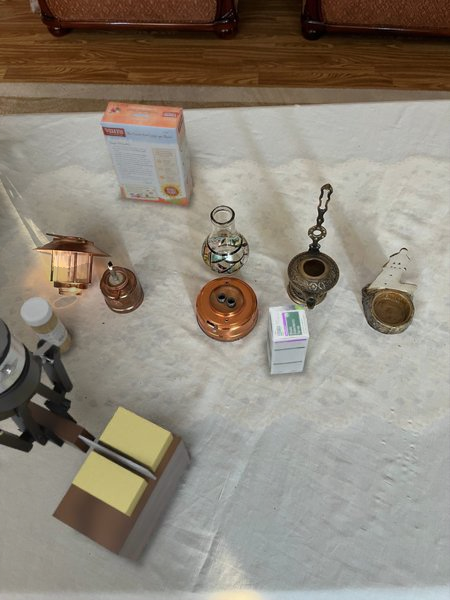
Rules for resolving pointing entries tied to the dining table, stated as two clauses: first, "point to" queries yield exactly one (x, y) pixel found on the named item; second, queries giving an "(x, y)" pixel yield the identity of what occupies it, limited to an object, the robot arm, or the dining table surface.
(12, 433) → the robot arm
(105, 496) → the butter slice
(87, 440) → the knife
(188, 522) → the dining table surface
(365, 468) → the dining table surface
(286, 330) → the syrup box
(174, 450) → the butter stand
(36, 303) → the sprinkles bottle
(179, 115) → the cracker box
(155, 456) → the butter block
